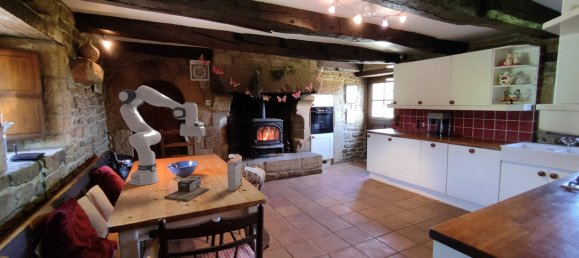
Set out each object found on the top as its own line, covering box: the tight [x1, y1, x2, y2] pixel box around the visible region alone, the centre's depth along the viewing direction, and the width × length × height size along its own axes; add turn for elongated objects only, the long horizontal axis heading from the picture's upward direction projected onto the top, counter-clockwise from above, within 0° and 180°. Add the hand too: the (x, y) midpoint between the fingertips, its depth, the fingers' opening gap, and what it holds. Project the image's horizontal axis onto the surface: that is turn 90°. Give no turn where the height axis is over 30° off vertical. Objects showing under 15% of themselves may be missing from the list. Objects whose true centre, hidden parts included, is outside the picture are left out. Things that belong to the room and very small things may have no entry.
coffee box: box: [177, 175, 202, 192], centre depth 192 cm, size 9×6×16 cm
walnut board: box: [164, 186, 210, 202], centre depth 183 cm, size 18×22×1 cm
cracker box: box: [226, 156, 243, 192], centre depth 195 cm, size 14×6×21 cm, turn 170°
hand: (192, 142), depth 205 cm, fingers open, 8 cm apart
